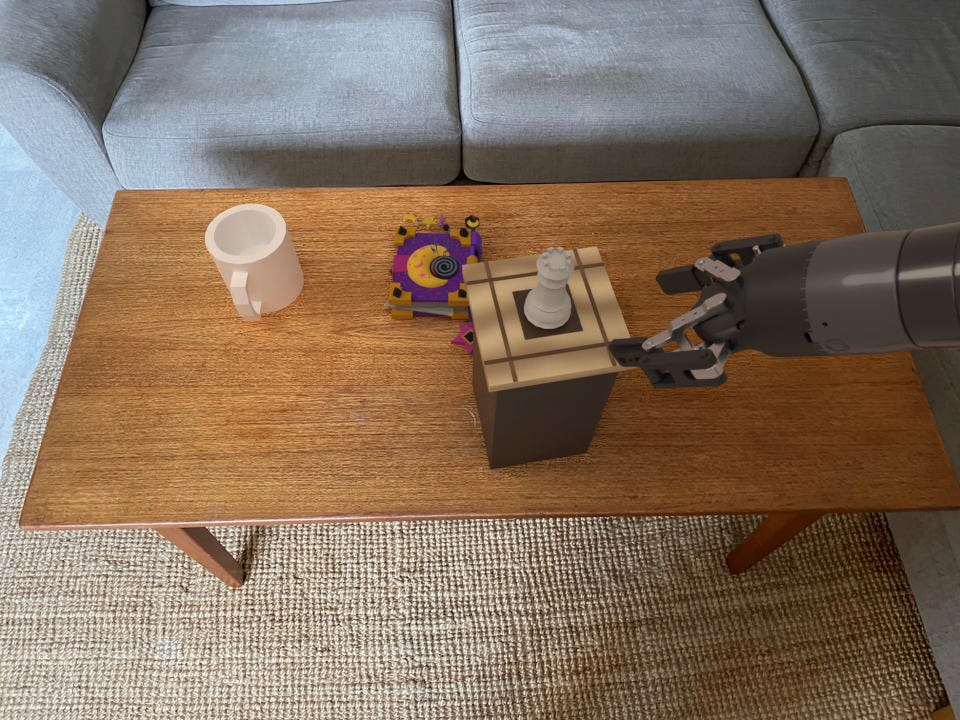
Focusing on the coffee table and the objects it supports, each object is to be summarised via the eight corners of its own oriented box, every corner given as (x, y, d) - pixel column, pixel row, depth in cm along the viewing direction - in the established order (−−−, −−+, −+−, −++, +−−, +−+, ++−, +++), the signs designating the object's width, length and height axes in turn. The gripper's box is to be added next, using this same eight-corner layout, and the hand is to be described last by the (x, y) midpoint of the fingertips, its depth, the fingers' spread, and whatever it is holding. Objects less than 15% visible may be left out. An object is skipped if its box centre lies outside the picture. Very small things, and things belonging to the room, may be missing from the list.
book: (489, 223, 98) (492, 161, 88) (489, 365, 86) (492, 312, 75) (393, 222, 98) (384, 159, 88) (379, 364, 85) (366, 310, 75)
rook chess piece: (556, 339, 60) (567, 287, 53) (514, 318, 61) (520, 264, 54) (578, 306, 62) (592, 251, 55) (537, 286, 63) (546, 230, 56)
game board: (636, 368, 60) (640, 361, 59) (488, 392, 59) (489, 385, 57) (595, 253, 67) (597, 245, 66) (462, 272, 66) (462, 264, 64)
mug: (297, 332, 88) (277, 284, 79) (221, 334, 87) (192, 286, 78) (307, 255, 95) (290, 202, 85) (237, 256, 94) (212, 204, 85)
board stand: (586, 453, 79) (623, 361, 60) (490, 469, 78) (497, 381, 59) (561, 369, 85) (588, 262, 67) (472, 383, 84) (473, 278, 65)
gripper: (854, 183, 43) (655, 228, 56) (776, 330, 37) (572, 343, 50) (890, 269, 46) (693, 294, 59) (824, 419, 40) (620, 409, 53)
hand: (638, 316), depth 54 cm, fingers open, 8 cm apart
